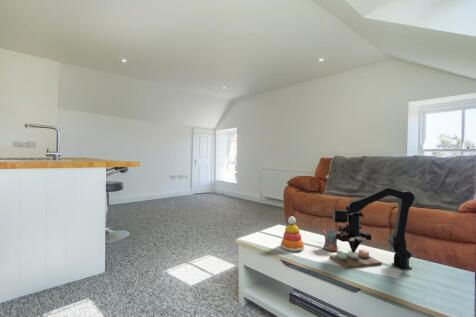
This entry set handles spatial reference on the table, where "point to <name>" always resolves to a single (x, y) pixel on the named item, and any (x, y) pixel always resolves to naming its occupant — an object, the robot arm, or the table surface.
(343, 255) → the sage button
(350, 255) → the cream button
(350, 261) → the button board
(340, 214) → the robot arm
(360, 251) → the terracotta button
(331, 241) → the mug
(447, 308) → the table surface
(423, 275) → the table surface
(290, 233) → the stacking toy
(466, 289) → the table surface
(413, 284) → the table surface
